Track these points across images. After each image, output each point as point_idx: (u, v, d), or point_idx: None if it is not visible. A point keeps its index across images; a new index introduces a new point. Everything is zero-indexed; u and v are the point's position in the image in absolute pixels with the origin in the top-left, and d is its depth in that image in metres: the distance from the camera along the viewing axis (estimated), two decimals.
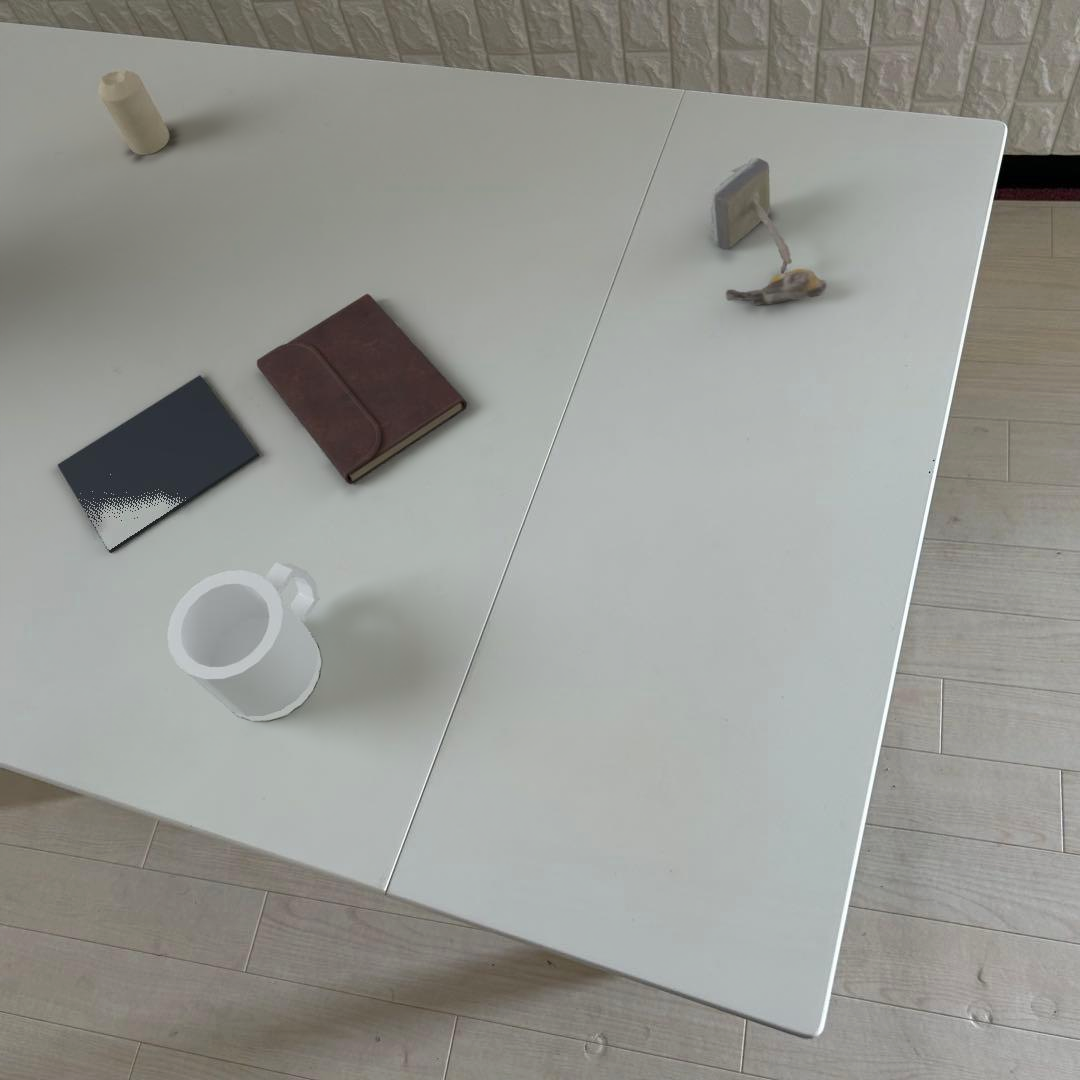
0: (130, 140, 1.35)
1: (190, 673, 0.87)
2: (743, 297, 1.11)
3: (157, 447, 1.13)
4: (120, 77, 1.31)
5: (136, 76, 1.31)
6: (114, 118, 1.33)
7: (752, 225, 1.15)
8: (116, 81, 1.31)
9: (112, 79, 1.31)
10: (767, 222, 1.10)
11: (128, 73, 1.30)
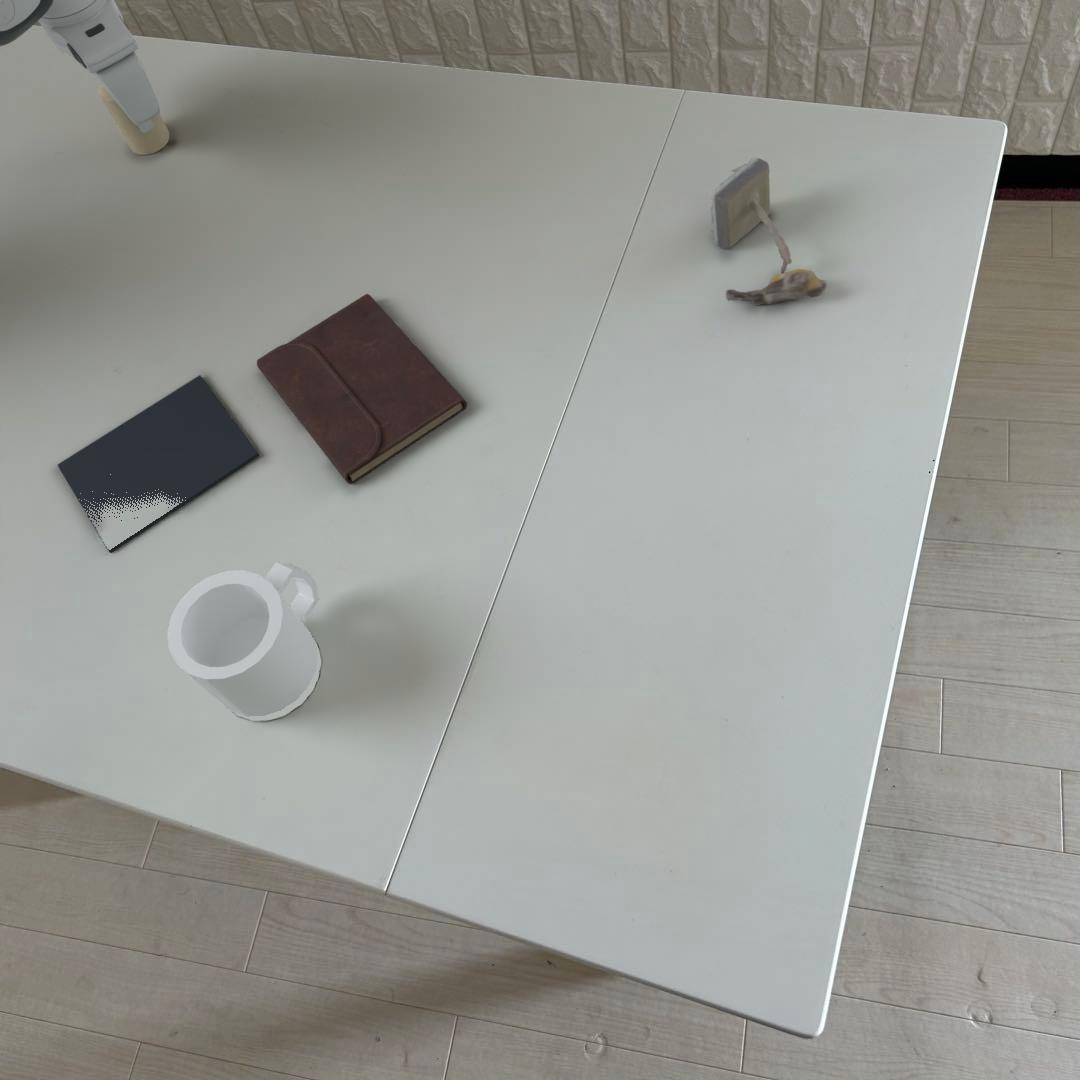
0: (130, 140, 1.35)
1: (190, 673, 0.87)
2: (743, 297, 1.11)
3: (157, 447, 1.13)
4: None
5: None
6: (114, 118, 1.33)
7: (752, 225, 1.15)
8: None
9: None
10: (767, 222, 1.10)
11: None
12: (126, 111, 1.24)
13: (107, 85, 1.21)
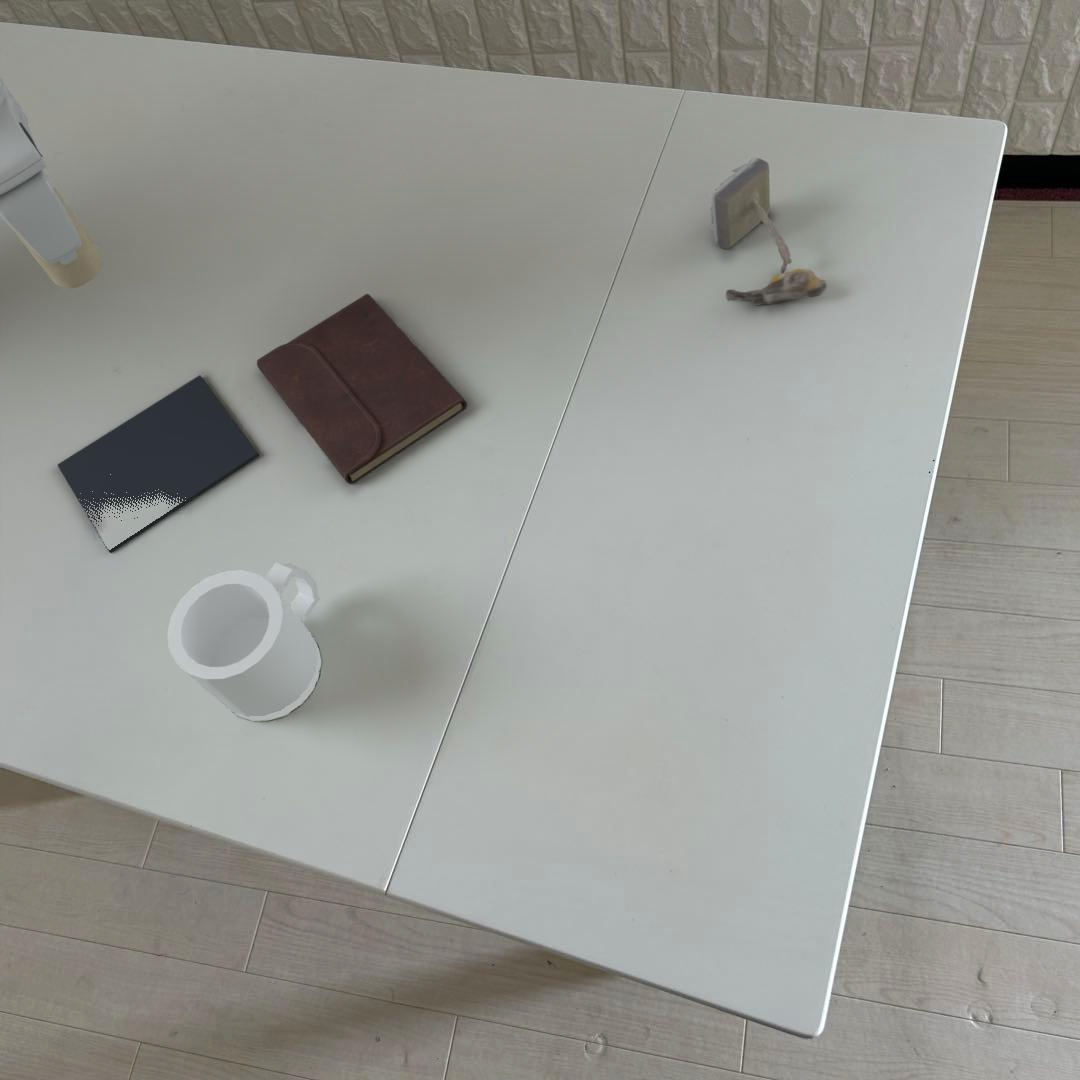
0: (49, 271, 1.03)
1: (190, 673, 0.87)
2: (743, 297, 1.11)
3: (157, 447, 1.13)
4: None
5: None
6: (26, 245, 1.01)
7: (752, 225, 1.15)
8: None
9: None
10: (767, 222, 1.10)
11: None
12: (34, 249, 0.92)
13: (5, 217, 0.89)
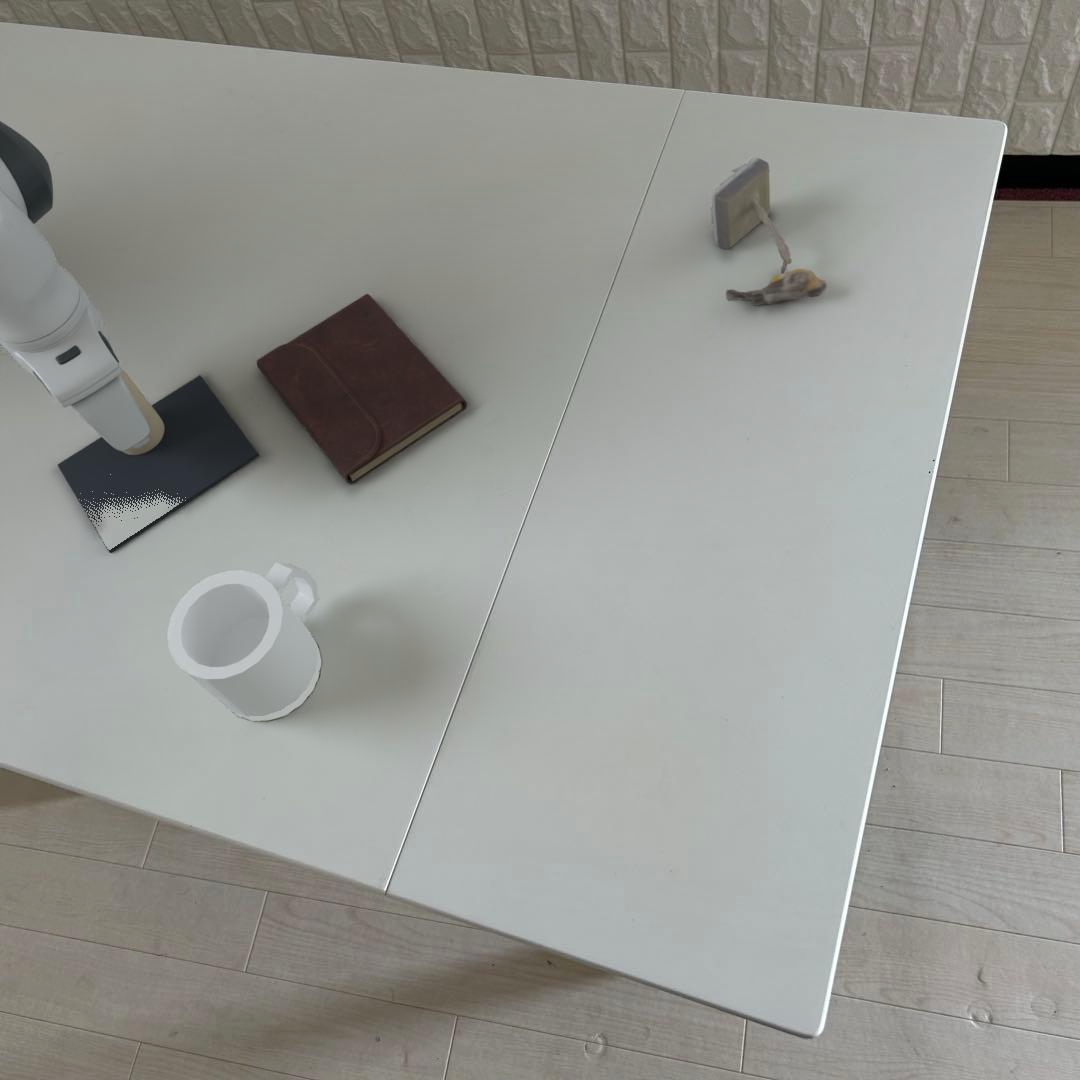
0: None
1: (190, 673, 0.87)
2: (743, 297, 1.11)
3: (157, 447, 1.13)
4: None
5: (123, 375, 1.06)
6: None
7: (752, 225, 1.15)
8: None
9: None
10: (767, 222, 1.10)
11: None
12: (108, 442, 0.99)
13: (84, 418, 0.96)
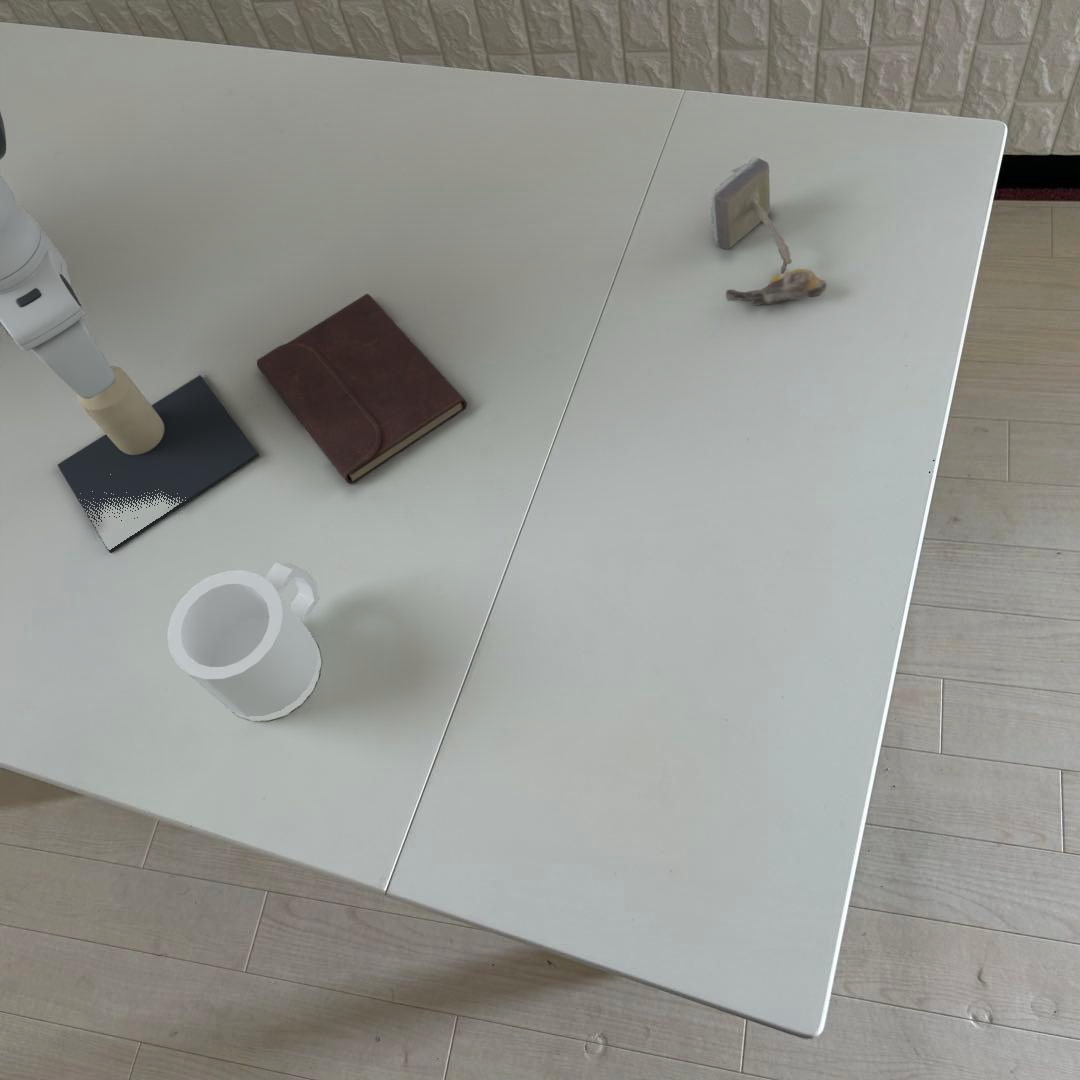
0: (116, 442, 1.11)
1: (190, 673, 0.87)
2: (743, 297, 1.11)
3: (157, 447, 1.13)
4: None
5: (123, 375, 1.06)
6: (96, 422, 1.08)
7: (752, 225, 1.15)
8: None
9: None
10: (767, 222, 1.10)
11: None
12: (72, 388, 0.97)
13: (46, 363, 0.95)
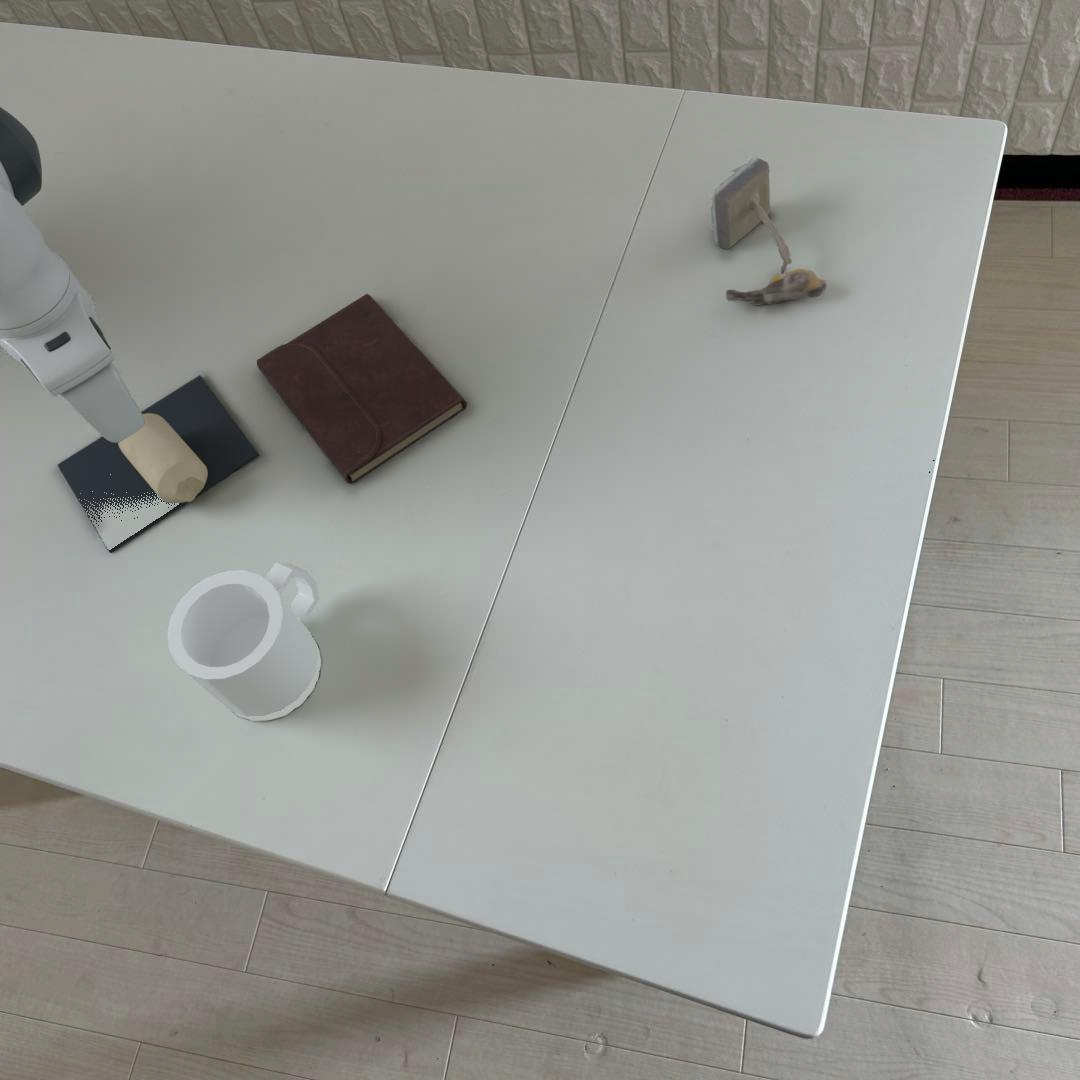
0: None
1: (190, 673, 0.87)
2: (743, 297, 1.11)
3: None
4: (190, 480, 1.06)
5: (206, 473, 1.07)
6: None
7: (752, 225, 1.15)
8: (185, 484, 1.06)
9: (182, 482, 1.05)
10: (767, 222, 1.10)
11: (204, 481, 1.07)
12: (100, 433, 0.95)
13: (74, 408, 0.92)
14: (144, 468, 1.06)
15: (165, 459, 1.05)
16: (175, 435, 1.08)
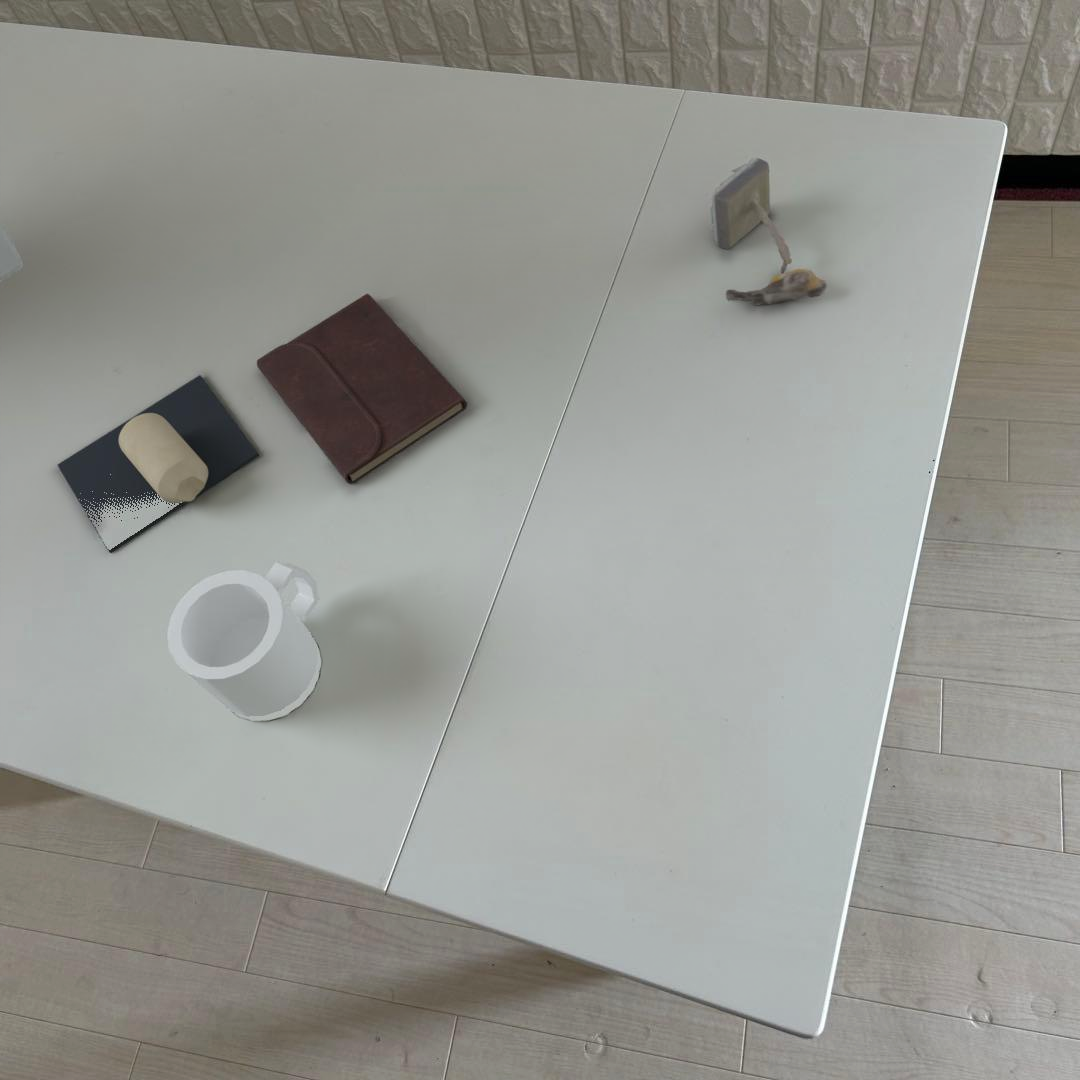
0: None
1: (190, 673, 0.87)
2: (743, 297, 1.11)
3: None
4: (191, 480, 1.06)
5: (207, 473, 1.08)
6: None
7: (752, 225, 1.15)
8: (186, 484, 1.06)
9: (182, 481, 1.05)
10: (767, 222, 1.10)
11: (205, 481, 1.07)
12: None
13: None
14: (144, 467, 1.06)
15: (166, 458, 1.05)
16: (176, 435, 1.08)
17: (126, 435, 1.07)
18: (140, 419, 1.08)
